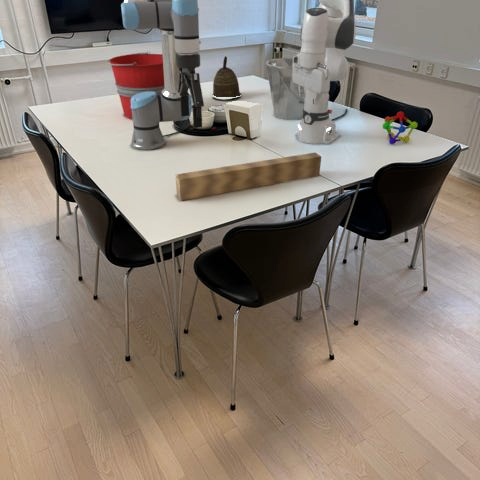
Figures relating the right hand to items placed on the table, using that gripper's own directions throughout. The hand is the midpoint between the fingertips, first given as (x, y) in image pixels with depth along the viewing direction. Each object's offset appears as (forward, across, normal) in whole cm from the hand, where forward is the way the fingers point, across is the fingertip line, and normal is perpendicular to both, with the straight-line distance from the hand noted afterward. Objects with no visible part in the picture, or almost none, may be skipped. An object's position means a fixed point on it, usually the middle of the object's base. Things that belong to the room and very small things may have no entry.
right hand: (308, 101), depth 161 cm
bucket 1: (+30, +110, +38) cm, 120 cm away
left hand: (+2, 0, +45) cm, 45 cm away
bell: (+30, +126, -18) cm, 131 cm away
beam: (+30, 0, +22) cm, 37 cm away
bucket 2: (+30, +76, -36) cm, 90 cm away
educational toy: (+30, +17, -61) cm, 70 cm away
